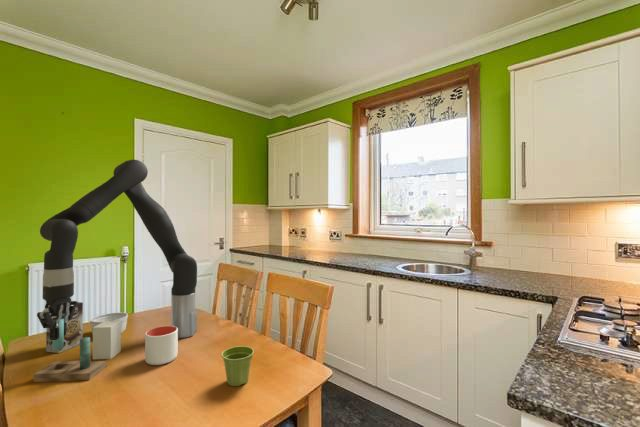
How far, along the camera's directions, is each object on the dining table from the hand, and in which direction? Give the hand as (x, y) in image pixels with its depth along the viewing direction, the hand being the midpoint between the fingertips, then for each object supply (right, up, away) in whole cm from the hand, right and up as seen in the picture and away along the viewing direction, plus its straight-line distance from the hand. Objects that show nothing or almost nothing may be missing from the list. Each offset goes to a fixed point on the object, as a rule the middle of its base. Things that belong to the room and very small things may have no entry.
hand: (58, 337), depth 97 cm
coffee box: (-14, -12, +20) cm, 27 cm away
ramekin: (-7, -12, +34) cm, 37 cm away
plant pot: (+58, -12, -4) cm, 59 cm away
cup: (+28, -12, +10) cm, 32 cm away
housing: (+6, -12, +13) cm, 19 cm away
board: (+8, -12, 0) cm, 14 cm away
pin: (0, -3, 0) cm, 3 cm away
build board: (0, -12, 0) cm, 12 cm away
